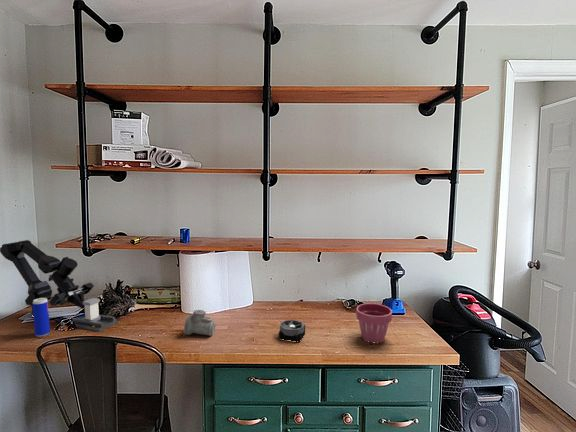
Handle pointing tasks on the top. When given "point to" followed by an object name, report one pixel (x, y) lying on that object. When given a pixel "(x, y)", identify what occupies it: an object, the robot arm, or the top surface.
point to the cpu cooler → (292, 330)
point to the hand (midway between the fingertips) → (83, 308)
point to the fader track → (95, 323)
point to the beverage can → (41, 317)
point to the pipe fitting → (199, 324)
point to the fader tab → (92, 309)
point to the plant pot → (373, 321)
